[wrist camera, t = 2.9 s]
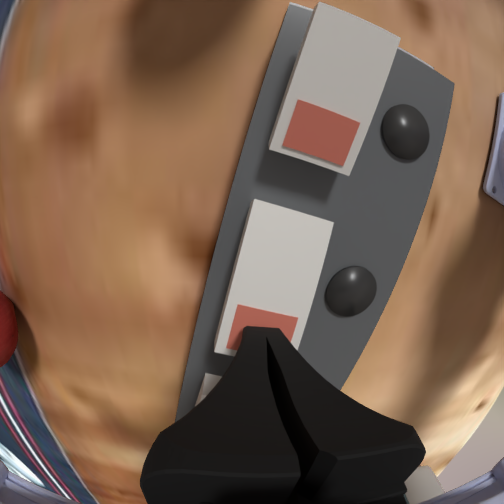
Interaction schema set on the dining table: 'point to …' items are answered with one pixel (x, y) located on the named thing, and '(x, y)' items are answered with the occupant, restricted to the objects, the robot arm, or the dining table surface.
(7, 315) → the onion
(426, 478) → the stereo radio cassette player
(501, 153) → the robot arm
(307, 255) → the rocker middle
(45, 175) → the dining table surface
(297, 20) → the power strip
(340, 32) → the rocker
